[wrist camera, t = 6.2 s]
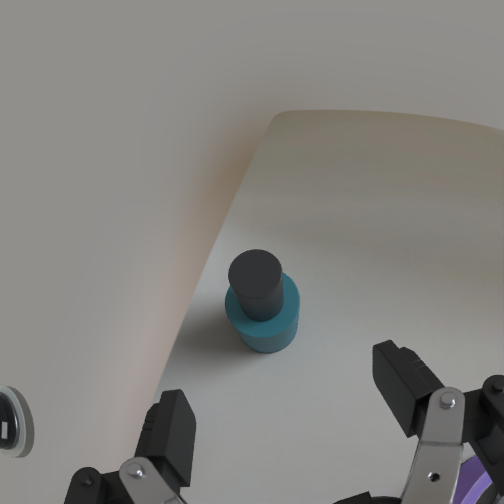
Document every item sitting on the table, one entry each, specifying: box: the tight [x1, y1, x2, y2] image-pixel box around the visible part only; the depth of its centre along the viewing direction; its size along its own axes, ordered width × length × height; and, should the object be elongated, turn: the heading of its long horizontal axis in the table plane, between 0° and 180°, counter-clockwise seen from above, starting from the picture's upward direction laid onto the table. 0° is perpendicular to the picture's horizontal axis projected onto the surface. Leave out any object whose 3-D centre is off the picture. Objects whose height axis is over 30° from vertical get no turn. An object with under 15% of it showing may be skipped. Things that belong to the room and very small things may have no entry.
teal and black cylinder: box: [225, 249, 300, 353], centre depth 23 cm, size 6×6×12 cm
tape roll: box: [452, 455, 501, 504], centre depth 12 cm, size 12×12×5 cm
